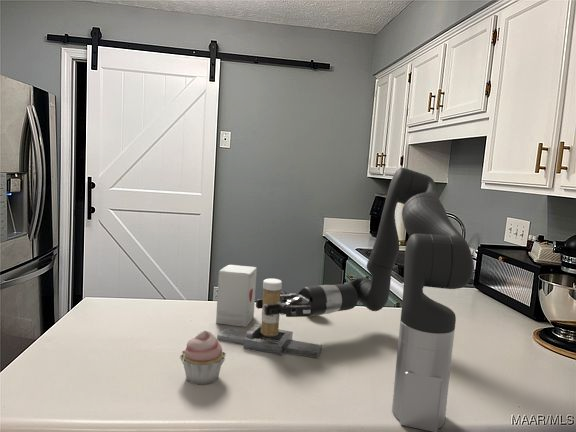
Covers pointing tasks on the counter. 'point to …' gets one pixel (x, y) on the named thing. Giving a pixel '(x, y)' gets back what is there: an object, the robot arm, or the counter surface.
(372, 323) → the counter surface
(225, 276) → the supplement box
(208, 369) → the cupcake
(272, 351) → the grey frame base plate
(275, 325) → the sprinkles bottle
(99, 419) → the counter surface
